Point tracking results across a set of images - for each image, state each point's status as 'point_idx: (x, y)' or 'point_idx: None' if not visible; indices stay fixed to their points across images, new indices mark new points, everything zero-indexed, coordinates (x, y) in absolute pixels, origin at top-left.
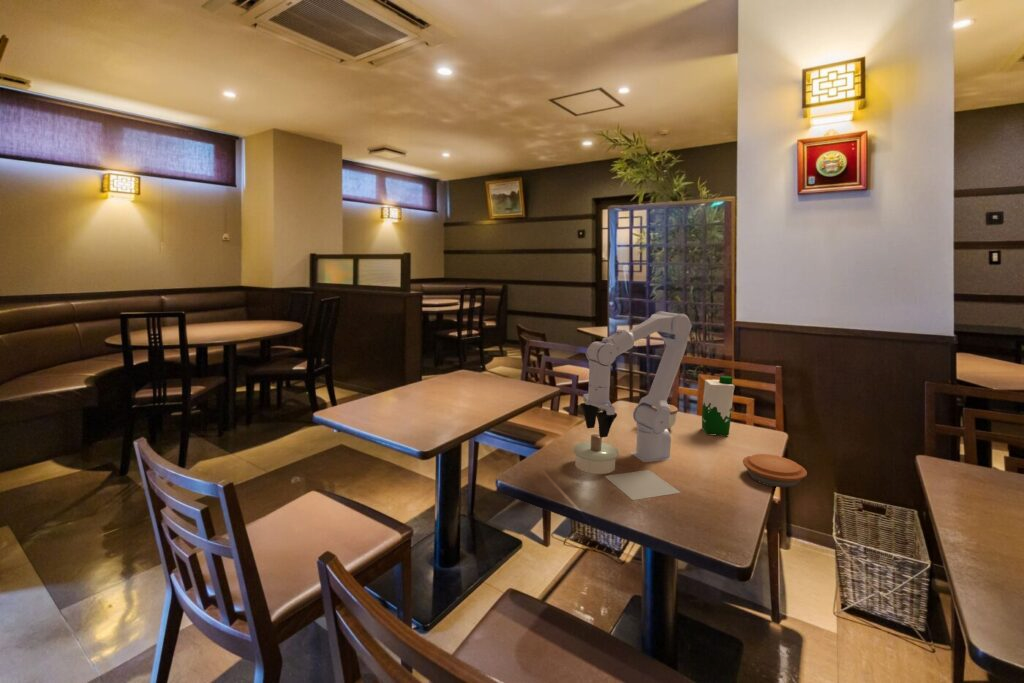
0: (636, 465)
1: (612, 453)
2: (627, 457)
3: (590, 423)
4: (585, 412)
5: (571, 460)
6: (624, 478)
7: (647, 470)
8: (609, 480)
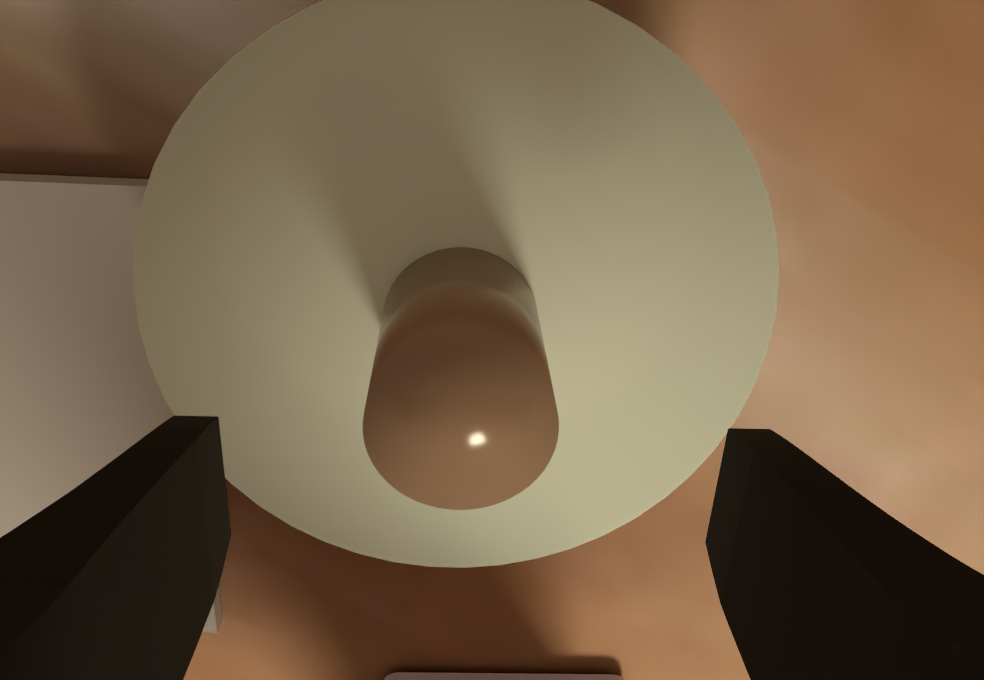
0: (379, 601)
1: (272, 450)
2: (564, 620)
3: (750, 537)
4: (926, 639)
5: (742, 62)
6: (69, 354)
7: (208, 619)
8: (38, 181)
